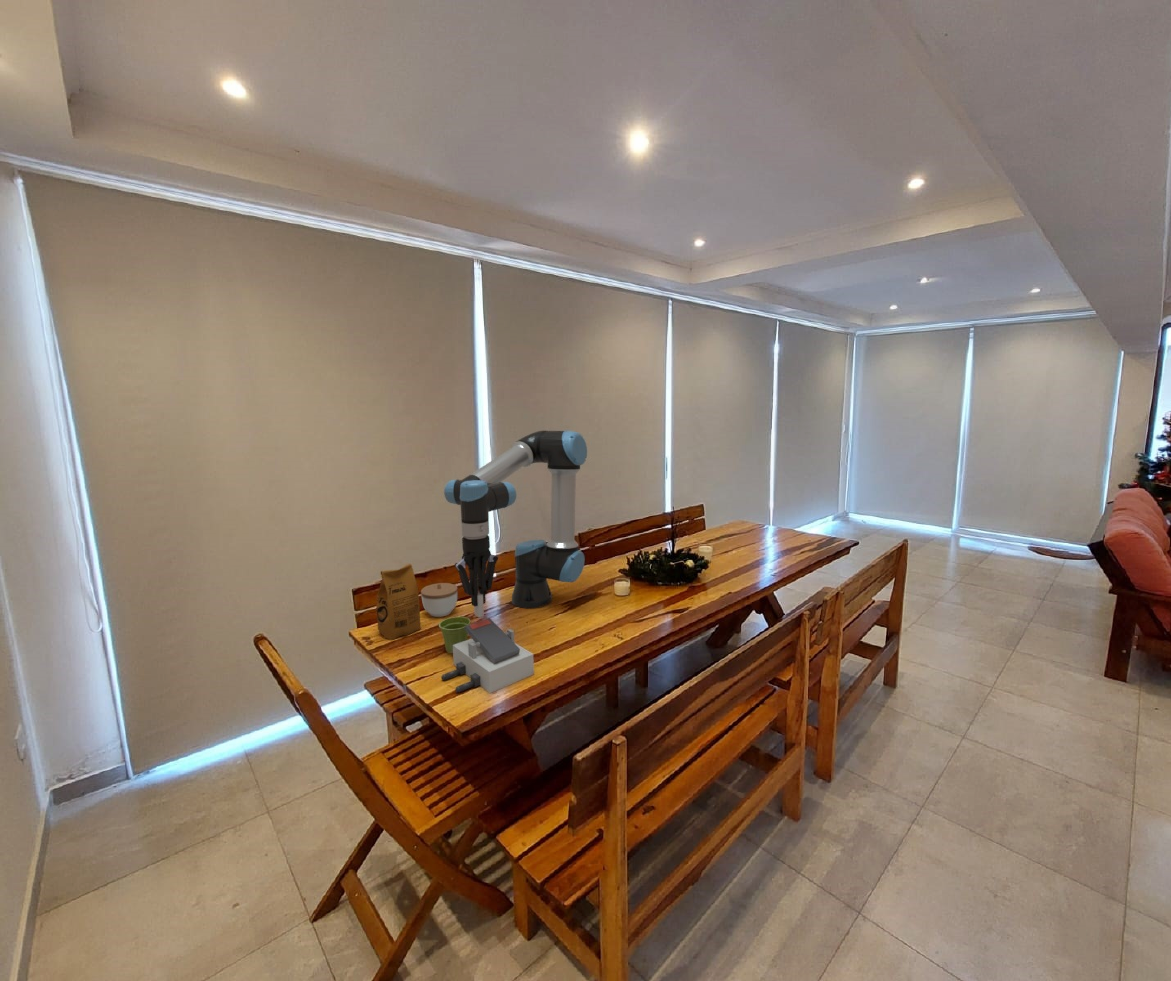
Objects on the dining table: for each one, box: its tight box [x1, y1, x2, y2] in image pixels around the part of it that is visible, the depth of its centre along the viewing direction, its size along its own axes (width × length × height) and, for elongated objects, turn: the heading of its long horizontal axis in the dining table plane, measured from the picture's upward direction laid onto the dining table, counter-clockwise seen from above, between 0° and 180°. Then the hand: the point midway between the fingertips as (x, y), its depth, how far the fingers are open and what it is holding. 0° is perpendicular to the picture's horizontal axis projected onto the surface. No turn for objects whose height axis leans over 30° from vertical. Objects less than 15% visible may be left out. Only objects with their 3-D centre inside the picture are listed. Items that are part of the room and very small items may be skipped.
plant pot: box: [438, 616, 472, 654], centre depth 156 cm, size 9×9×9 cm
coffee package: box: [376, 563, 421, 641], centre depth 167 cm, size 10×12×22 cm
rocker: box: [465, 617, 520, 664], centre depth 143 cm, size 11×16×2 cm, turn 42°
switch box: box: [441, 628, 535, 694], centre depth 141 cm, size 21×20×10 cm
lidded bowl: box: [420, 582, 458, 618], centre depth 183 cm, size 13×13×11 cm
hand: (479, 615), depth 147 cm, fingers closed
